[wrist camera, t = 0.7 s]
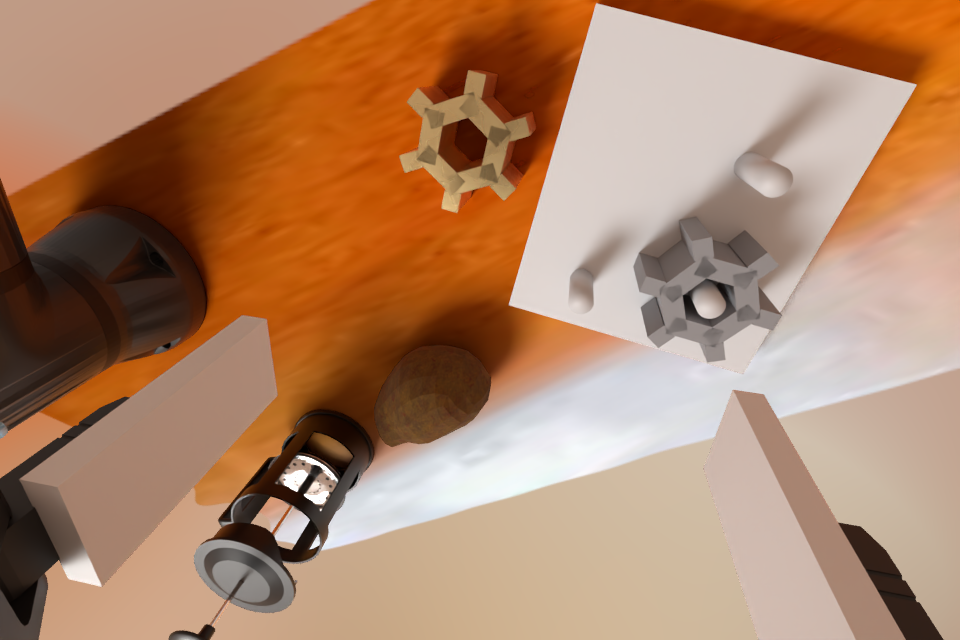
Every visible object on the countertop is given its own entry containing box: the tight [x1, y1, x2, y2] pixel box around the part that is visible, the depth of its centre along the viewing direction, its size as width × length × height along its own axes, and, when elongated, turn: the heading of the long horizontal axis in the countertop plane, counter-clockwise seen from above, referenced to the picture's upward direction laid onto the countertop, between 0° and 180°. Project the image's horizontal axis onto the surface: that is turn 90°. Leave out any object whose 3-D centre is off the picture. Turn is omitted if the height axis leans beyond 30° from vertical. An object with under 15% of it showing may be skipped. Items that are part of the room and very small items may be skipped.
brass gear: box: [399, 70, 536, 213], centre depth 36 cm, size 9×9×5 cm
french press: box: [169, 410, 374, 640], centre depth 46 cm, size 12×9×23 cm
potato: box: [374, 345, 491, 447], centre depth 45 cm, size 8×12×9 cm
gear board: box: [509, 3, 917, 374], centre depth 34 cm, size 20×22×8 cm
